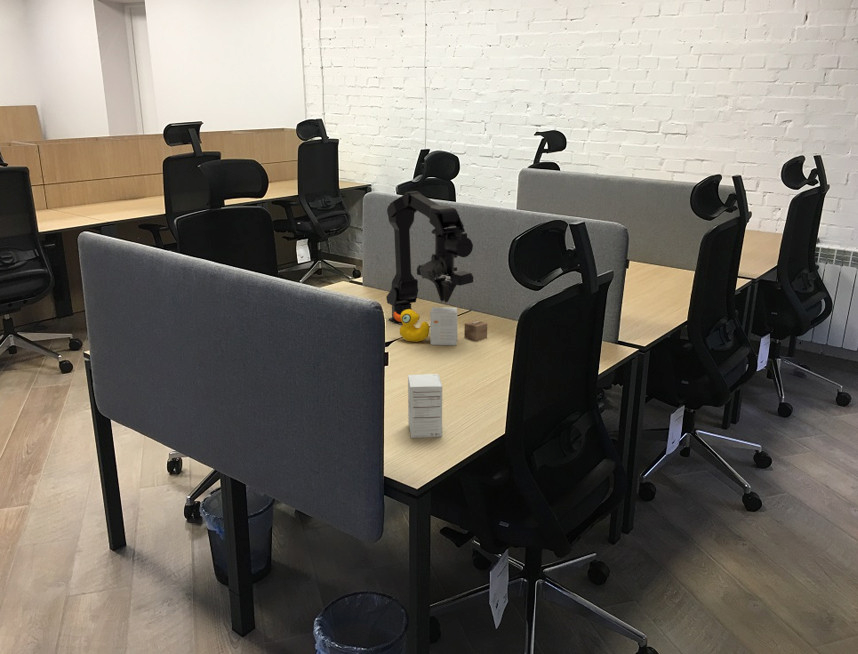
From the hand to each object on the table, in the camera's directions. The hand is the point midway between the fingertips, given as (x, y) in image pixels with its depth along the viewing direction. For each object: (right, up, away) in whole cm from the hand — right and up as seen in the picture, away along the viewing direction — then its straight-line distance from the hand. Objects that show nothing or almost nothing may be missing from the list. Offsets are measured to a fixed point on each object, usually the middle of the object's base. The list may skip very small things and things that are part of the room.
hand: (444, 301), depth 225 cm
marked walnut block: (+10, -11, +8) cm, 17 cm away
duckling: (-10, -12, +5) cm, 16 cm away
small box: (0, -13, +4) cm, 13 cm away
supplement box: (-6, -32, -53) cm, 62 cm away
